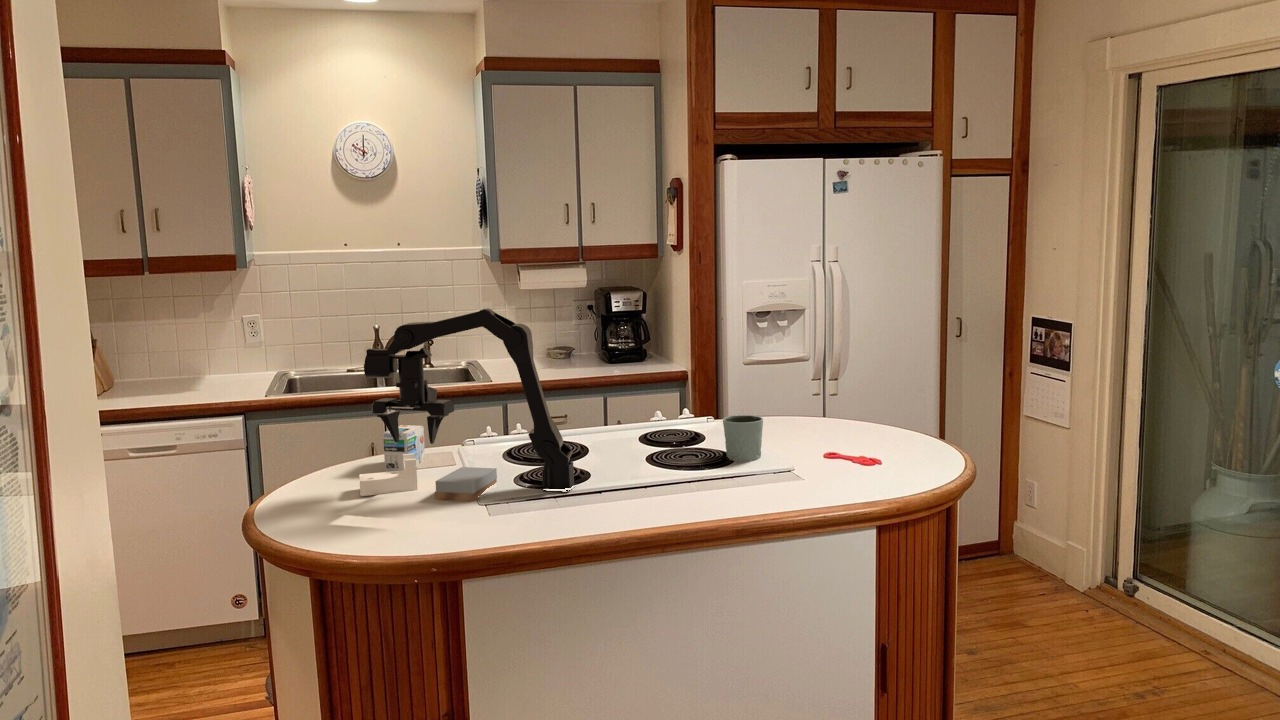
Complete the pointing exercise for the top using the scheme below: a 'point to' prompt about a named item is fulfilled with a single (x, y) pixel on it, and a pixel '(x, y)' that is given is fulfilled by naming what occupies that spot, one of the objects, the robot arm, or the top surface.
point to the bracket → (391, 479)
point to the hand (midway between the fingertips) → (414, 442)
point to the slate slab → (466, 480)
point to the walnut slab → (462, 495)
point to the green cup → (743, 437)
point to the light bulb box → (403, 447)
